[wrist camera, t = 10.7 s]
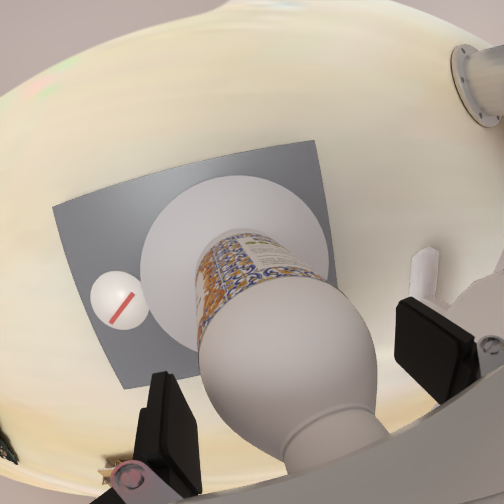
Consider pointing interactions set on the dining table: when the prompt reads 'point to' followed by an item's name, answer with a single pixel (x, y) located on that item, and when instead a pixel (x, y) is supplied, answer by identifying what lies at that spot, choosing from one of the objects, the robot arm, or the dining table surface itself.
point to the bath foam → (283, 352)
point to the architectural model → (107, 472)
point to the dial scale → (183, 247)
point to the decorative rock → (6, 452)
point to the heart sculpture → (460, 297)
